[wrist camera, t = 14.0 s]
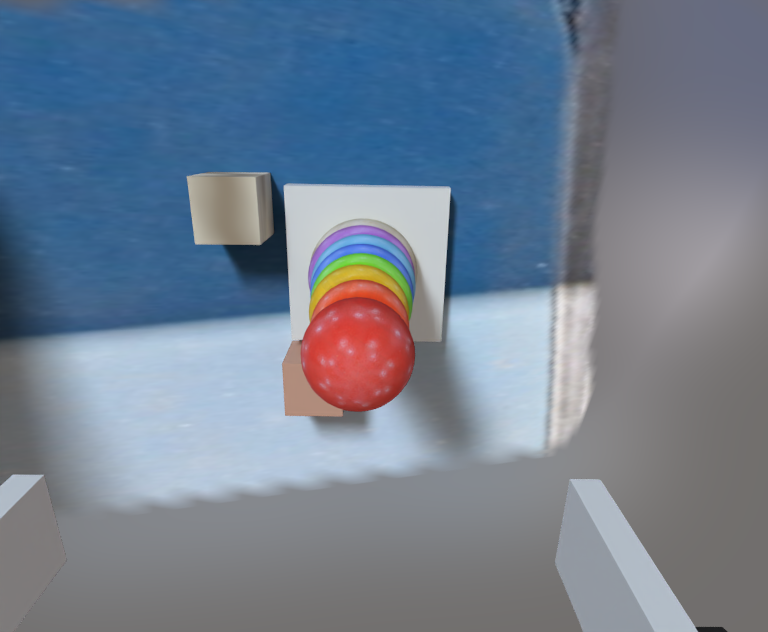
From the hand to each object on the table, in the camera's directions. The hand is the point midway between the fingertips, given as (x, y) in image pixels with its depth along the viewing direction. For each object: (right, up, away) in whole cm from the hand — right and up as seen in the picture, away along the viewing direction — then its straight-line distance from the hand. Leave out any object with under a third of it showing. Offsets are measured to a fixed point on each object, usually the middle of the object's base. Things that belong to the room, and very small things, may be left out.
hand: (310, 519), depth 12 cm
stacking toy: (0, +9, +25) cm, 26 cm away
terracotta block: (-4, +1, +29) cm, 29 cm away
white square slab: (+1, +9, +26) cm, 28 cm away
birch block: (-9, +14, +25) cm, 30 cm away
